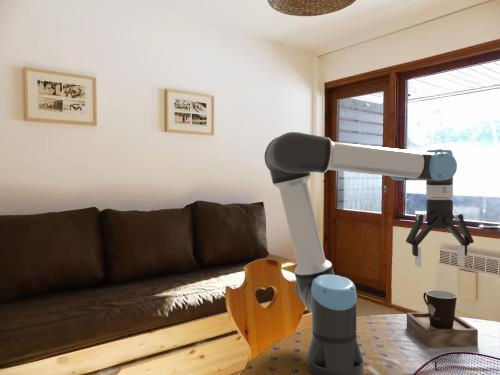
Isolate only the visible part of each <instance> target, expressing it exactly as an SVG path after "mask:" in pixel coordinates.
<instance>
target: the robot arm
mask: <svg viewBox="0 0 500 375" xmlns="http://www.w3.org/2000/svg"><path fill="white" fill-rule="evenodd" d="M266 146H267V147H266V148H265V151H264V157H263V158H264V164H265V166H266V167H267V169H268V171H269V173H270V177H271V181H272V186H274V187H276V188H278V190H279V192H280V196H281V201H282V205H283V209H284V213H285V214H284V215H285V217H286V222H287V225H288V230H289V234H290V238H291V239H290V240H291V243H292V248H293V250H294V255H295V261H296V263H297V265H296V267H295V268H294V270H293V273H294V278H295V292H296V294H297V297H298V299H299V300H300V301H301V303H302V304H304V305H305V307H306V308H307V309H308V310H309V312H310V313H311V320H312V321H311V323H312V324H311V326H312V327H311V328H312V331H311V332H312V333H311V335H312V336H311V340H310V342H309V346H308V349H307V352H306V357H305V362H306V364H305V366H306V368H307V369H308V370H309V372H311V373H312V374H313V375H362V374H363V373H364V369H365V368H364V366H365V365H364V362H365V361H364V358H363V355H362V352H361V350H360V346H359V343H358V340H357V300H358V294H357V289H356V285H355V283H354V282H353V281H352V280H350V279H349V278H348V277H345V276H341V275H337V274H335V272H334V268H333V264H332V262H331V261H330V260H329V259H327V258H326V257H325V252H324V248H323V244H322V239H321V234H320V230H319V226H318V222H317V219H316V218H317V217H316V213H315V210H314V204H313V201H312V196H311V192H310V188H309V184H308V182H309V180H310V178H311V176H312V174H311V173H318V174H319V173H321V174H325V173H326V172H327V171H337V172H346V173H347V172H349V173H357V174H368V175H378V176H379V175H380V176H389V177H390V178H391V179H392V180H393V181H401V182H403V181H426V184H425V185H426V186H425V187H426V189H425V190H426V195H425V196H426V197H427V198H428V199H426V206H425V207H426V208H425V209H426V214H420V213H417V214H415V215H416V216H415V220H414V224H412V227H411V229H410V232H409V233H408V236H407V238H406V240H405V242H406V243H407V244H409V245H411V251H412V252H411V254H412V256H413V257H414V266H416V267H417V268H422V245H420V244H421V243H422V242H423V240H424V239H425V238H426V236H427V235H428V234H429V233H430V232H431V231H433V229H437V230H438V229H445V230H446V229H447V230H448V231H449V232H450V233H451V235H453V236H454V238H455V239H456V240H457V241H458V243H459V244H458V243H457V266H459V267H465V260H466V258H465V256H467V255H468V247H469V246H470V245H471V244H474V242H475V241H474V239H473V237H472V235H471V233H470V230H469V228H468V226H467V224H466V222H465V219H464V215H463V213H458V212H457V213H455V214H453V211H454V200H453V199H452V198H453V197H454V185H453V184H454V176H455V174H456V172H457V169H458V162H457V160H456V158H455V157H454V156H453V151H452V150H451V149H449V148H447V149H446V148H442V149H441V148H440V149H439V148H438V149H435V148H434V149H428V150H427V151H419V150H418V151H417V150H411V149H410V150H409V149H400V148H391V147H382V146H374V145H366V144H365V145H364V144H356V143H346V142H340V141H339V142H338V141H332V139H331V138H330V137H327V136H322V135H321V136H320V135H314V134H308V133H304V132H299V131H298V132H297V131H291V132H290V131H289V132H286V133H284V134H282V135H280V136H277V137H274V139H272V140H271V141H270V142H269V143H268V144H267V145H266ZM425 220H426V221H427V222H425ZM453 221H455V223H456V224H457V227H458V228H459V230H458V229H457V228H456V226H455V225H454V224H453V223H452V222H453ZM424 222H425V224H424V227H423V228H422V229H421V227H422V225H423V223H424ZM420 230H421V231H420ZM460 232H461V233H460Z"/></svg>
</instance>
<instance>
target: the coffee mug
mask: <svg viewBox="0 0 500 375" xmlns="http://www.w3.org/2000/svg"><path fill="white" fill-rule="evenodd" d="M457 297H458V294H456V293H454V292H452V291H449V290H443V289H442V290H441V289H430V290H427V291H425V292H424V293H423V297H422V298H423V301H424V303H425V304H426V306H427V309H428V311H427V312H429V320H430V325H431V326H432V327H434V328H437V329H452V328H453V323H454V315H456V314H455V313H456V306H457Z"/></svg>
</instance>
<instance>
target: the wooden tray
mask: <svg viewBox="0 0 500 375" xmlns="http://www.w3.org/2000/svg"><path fill="white" fill-rule="evenodd" d="M406 329H408V330H409V332H411V333H412V334H413V335H414V336H415V337H416V338H417V339H418V340H419V341H420V342H421V343H422V344H424V345H425V346H426V347H427V348H454V347H456V348H457V347H459V348H460V347H464V348H465V347H468V348H469V347H479V346H478V345H479V343H478V342H479V340H478V339H479V336H478V335H479V333H478V332H479V330H478V329H477V328H475V327H474V326H472V325H471V324H470V323H468V322H467V321H465V320H464V319H463V318H461V317H459V316H458V315H456V314H455V315H454V323H453V328H452V329H437V328H434V327H432V326H431V325H430V320H429V312H428V311H427V312H406Z"/></svg>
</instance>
